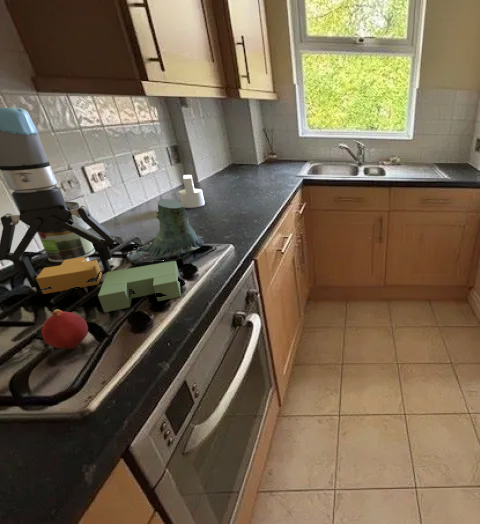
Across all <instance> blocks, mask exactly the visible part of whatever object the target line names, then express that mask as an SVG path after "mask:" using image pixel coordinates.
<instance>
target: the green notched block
mask: <svg viewBox="0 0 480 524" xmlns="http://www.w3.org/2000/svg"><path fill="white" fill-rule="evenodd" d="M178 276H179V277H180V271H179V268H178V264H177V260H175V261H170V262H165V263H156V264H146V265H140V266H136V267H130V268H124V269H118V270H111V272H107V273H105V276H104V279H103V282H102V284H101V287H100V289H99V292H98V294H97V298H98V300H99V302H100V305H101V308H102V310H103V313H108V312H113V311H118V310H122V309H123V310H124V309H129V308H131V306H132V299H135V298H141V297H146V296H151V295H156V293H162V294H165V295H167V296H162V297H156V301H157V302H162V301H166V300H171V299H176V298H180V297H181V296H182V293H181V281H180V282H179V281H178ZM129 289H132V290H133V291H134V292H135V293H136V294H131V295H130V297H129ZM154 293H155V294H154Z"/></svg>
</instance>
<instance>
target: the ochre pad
mask: <svg viewBox="0 0 480 524" xmlns="http://www.w3.org/2000/svg"><path fill="white" fill-rule="evenodd" d="M100 271H101V272H100ZM99 272H100V274H99V277H98V279H97V281H93V282H87V281H88V280H89V279H91V278H96V277H97V275H98V273H99ZM102 275H103V273H102V270H101V267H100V264H99V261H98V259H94V260H88V261H87V260H86V257H81V258H74V259H67V260H64V261H63V262H61V264H59V265H53V266H47V267H43V269H42V270H41V271H40V272H39V274H38V275H37V278H36V280H37V282H38V287H39V289H40V291H41V293H42V295H46V294H53V293H57V292H63V291H69V289H70V288H74V287H80V288H86V287H93V286H97V285H99V284H100V281H101V278H102ZM86 282H87V283H86ZM48 287H51V288H52V289H47V290H41V289H44V288H48ZM70 290H71V289H70Z"/></svg>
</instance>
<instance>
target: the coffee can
mask: <svg viewBox="0 0 480 524" xmlns="http://www.w3.org/2000/svg"><path fill="white" fill-rule="evenodd" d="M65 203H66V205H67V207H68V208H69V209H70V210H71V209H76V208H80V204H79V202H77V201H65ZM70 220H72V221H74V222H76V223H77V224H78V225H79V226H81V227H83V228H85V229H86V230H88V227H87V224H86V223H85V222H84V221H83V220H82V218H78V217H77V216H76V215H72V216H71V218H70ZM36 234H37V235H38V238H39V240H40V242H41V244H42V246H43V249H44V251H45V252H44V253H45V254H46V256H47V260H48V261H49V262H51V263H62V262H63V261H64V260H67V259H74V258H81V257H85V258H87V257H89V256H92V255H93V254H94V253H95V252H96V249H95V247H94V245H93V243H91V242H90V241H88V240H86V239H84V238H82V237H80V236H79V235H77V234H75V233H73V232H70V231H68V230H66V229H63V230H61V231H50V232H47V233H43V232H39V231H38V232H37V233H36Z"/></svg>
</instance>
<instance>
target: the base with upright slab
mask: <svg viewBox="0 0 480 524" xmlns="http://www.w3.org/2000/svg"><path fill="white" fill-rule="evenodd" d="M182 181H183V185H184V189H181V190H179V191H177V192H178V196H179V202H181V203H182V204H183V206H184V208H185V209H194V208H200V207H203V206H205V205H206V202H205V198H204V193H203V189H201V188H195V186H194V180H193V176H192V174H183V176H182Z"/></svg>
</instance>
